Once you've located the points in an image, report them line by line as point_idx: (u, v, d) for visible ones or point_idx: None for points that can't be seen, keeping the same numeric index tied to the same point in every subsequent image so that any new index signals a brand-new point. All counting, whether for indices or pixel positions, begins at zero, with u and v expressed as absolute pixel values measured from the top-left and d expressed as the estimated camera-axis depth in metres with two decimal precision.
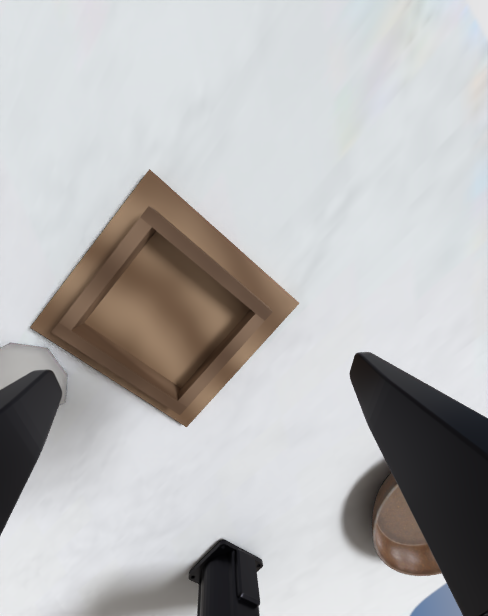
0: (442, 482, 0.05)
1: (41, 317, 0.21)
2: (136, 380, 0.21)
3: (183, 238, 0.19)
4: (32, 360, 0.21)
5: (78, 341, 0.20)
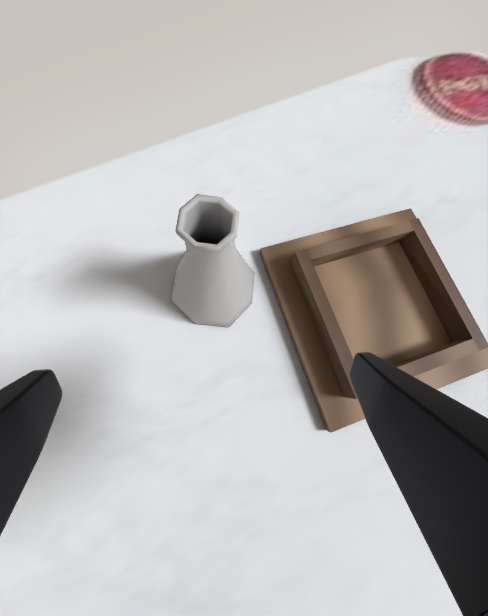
0: (442, 482, 0.05)
1: (274, 247, 0.23)
2: (335, 332, 0.20)
3: (433, 249, 0.22)
4: (250, 268, 0.22)
5: (310, 270, 0.21)
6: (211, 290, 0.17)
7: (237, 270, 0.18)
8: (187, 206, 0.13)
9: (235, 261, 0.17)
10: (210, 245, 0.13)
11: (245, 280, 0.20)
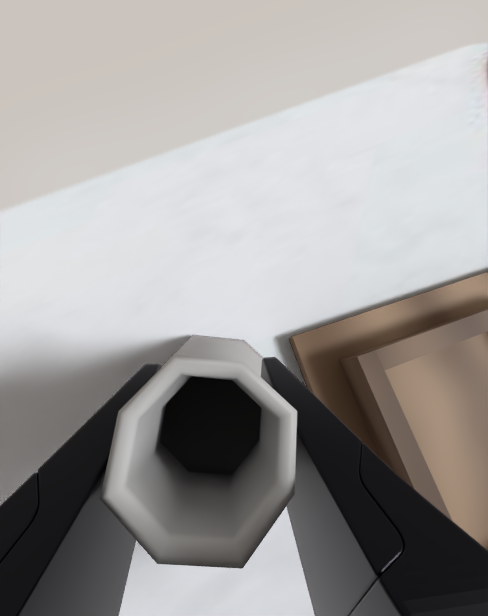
0: (303, 497, 0.05)
1: (314, 332, 0.14)
2: None
3: None
4: None
5: (385, 392, 0.12)
6: None
7: None
8: (143, 402, 0.04)
9: None
10: (213, 554, 0.04)
11: None
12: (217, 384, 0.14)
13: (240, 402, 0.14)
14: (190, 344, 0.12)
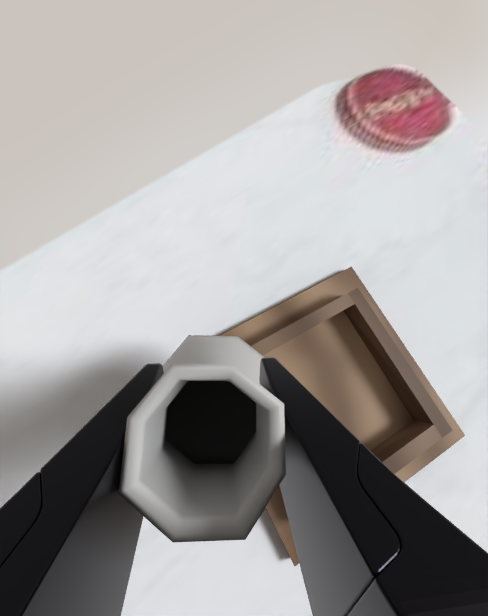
0: (301, 497, 0.05)
1: None
2: None
3: (378, 322, 0.20)
4: None
5: None
6: None
7: None
8: (148, 407, 0.05)
9: None
10: (219, 530, 0.05)
11: None
12: None
13: (238, 395, 0.15)
14: (187, 345, 0.13)
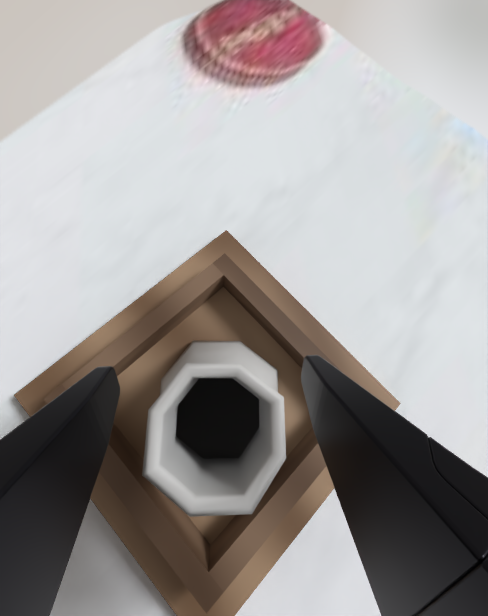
0: (366, 490, 0.05)
1: (37, 381, 0.15)
2: (144, 510, 0.12)
3: (259, 291, 0.15)
4: (274, 373, 0.14)
5: None
6: None
7: None
8: (166, 401, 0.06)
9: None
10: (229, 506, 0.05)
11: None
12: (219, 383, 0.15)
13: (241, 397, 0.15)
14: (192, 349, 0.14)
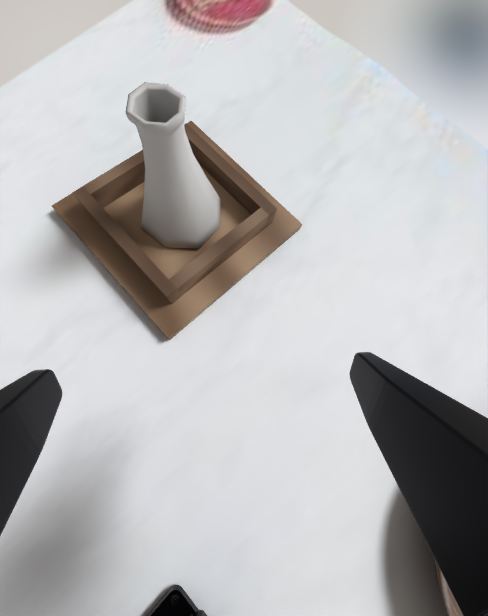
0: (442, 482, 0.05)
1: (65, 199, 0.23)
2: (132, 248, 0.20)
3: (207, 145, 0.24)
4: None
5: (92, 204, 0.21)
6: (174, 197, 0.18)
7: (197, 177, 0.19)
8: (135, 92, 0.14)
9: (193, 166, 0.18)
10: (159, 123, 0.14)
11: (209, 197, 0.21)
12: None
13: None
14: None
